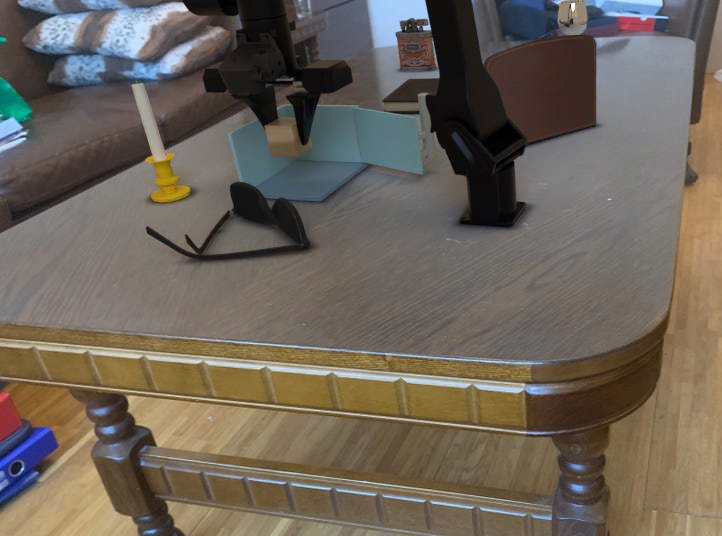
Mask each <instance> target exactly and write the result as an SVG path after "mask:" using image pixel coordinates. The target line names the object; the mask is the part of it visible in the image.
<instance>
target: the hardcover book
mask: <svg viewBox="0 0 722 536" xmlns="http://www.w3.org/2000/svg"><path fill="white" fill-rule="evenodd" d="M438 82H439V77H433V78H432V77H431V78H429V77H428V78H427V77H426V78H424V77H423V78H408V79H406V80H405V81H404V82H403V83H401V84H400V85H399V86H398V87H397V88H395V89H394V90H393V91H391V92H390V93H389V94H388V95H387V96H386V97H384V98H383V99H382V100H381V103H384V111H383V112H388V113H395V114H401V115H409V114H410V115H411V114H420V112H419V103H418V94H421V93H431V92H433V91H435V90H437V87H438Z"/></svg>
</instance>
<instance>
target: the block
mask: <svg viewBox="0 0 722 536" xmlns="http://www.w3.org/2000/svg"><path fill="white" fill-rule="evenodd" d="M265 130H266V135H267V139H268V143H269V148H270V152H271V156H284V157H298V156H300V155H301V154H303V153H304V152H306V151H308V150H309V149H311V148H312V142H311V137H309V142H308V144H306V145H302V144H301V141H300V138H299V135H298V130H297V124H296V119H295V117H280V118H278V119H276V120H275V121H273V122H271V123H269V124H267V125H265Z"/></svg>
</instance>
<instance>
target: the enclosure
mask: <svg viewBox="0 0 722 536" xmlns="http://www.w3.org/2000/svg"><path fill="white" fill-rule="evenodd" d="M354 107H357V108H360V107H359V105H358V104H357V105H356V104H354V105H353V104H317V107H316V110H315V115H314V119H313V123H312V128H311V132H310V137H311V142H312V148H311V149H309V150H308V151H306V152H304V153H303V154H301V155H300V156H298V157H284V156H271V152H270V148H269V143H268V139H267V135H266V131H265V130H264V128H263V126H262V125H261V123H260V121H259V120H258V118H257V117H256V118H254V119H253V120H251V121H248V122H247V123H245V124H243V125H241V126H238V127H237V128H235V129H233V130H231V131H230V132H228V133H226V135H227V139H228V142H229V146H230V151H231V155H232V159H233V162H234V166H235V167H234V168H235V172H236V174H237V179H238V182H245V183H248V184H250V185H253V186H255V187H256V188H257V189H259V190H260V192H261V193H262V194H263V195H264V197H265V199H272V200H276V199H278V198H285V199H287V200H288V201H305V202H320V203H321V202H322V201H324V200H325V199H326V198H328V197H329V196H330V195H332V194H333V193H334V192H336V191H337V190H338V189H340V188H341V187H342V186H344V185H345V184H346V183H347V182H349V181H350V180H352V179H353V178H354V177H355V176H356V175H358V174H359V173H360V172H362V171H363V170H364V169H366V168H367V167H368V166H369V163H365V162H362V159H361V153H360V147H359V141H358V135H357V128H356V122H355V116H354V110H353V108H354ZM277 113H278V118H280V117H295V114H294V109H293V106H292V105H291V103H283V104H281V105H280V106H277Z"/></svg>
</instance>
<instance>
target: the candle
mask: <svg viewBox="0 0 722 536" xmlns="http://www.w3.org/2000/svg"><path fill="white" fill-rule="evenodd" d="M131 88H132V93H133V97H134V99H135V104H136V106H137V109H138V113H139V117H140V119H141V122H142V125H143V126H142V127H143V130H144V132H145V136H146V139H147V142H148V145H149V149H150V152H151V155H150V156H148V157H146V158H145V160H144V161H145V163H149V164H152V166H153V167H154V173H155V174H156V176H157V177H156V178H155V179H154V184H155V185H156V186H159V187H160V188H159V189H157V190H155V191H154V192H152V193H151V195H150V197H151V200H152V201H153V202H155V203H162V204H163V203H171V202H177V201H180V200H182V199H184V198H187V197H189V196H190V195H191V193H192V190H191V188H190V187H189V186H187V185H182V184H181V185H180V184H179V185H177V182H179V181H180V177H179V175H177V174H174V170H173V167H172V165H171V160H173V159H174V158H175V157H176V154H175V153H173V152H166V150H165V146H164V143H163V140H162V137H161V134H160V129H159V127H158V124H157V121H156V118H155V114H154V110H153V109H152V104H151V102H150V99H149V95H148V92H147V89H146V86H145V83H143V82H141V83H138V80H137V79H135V83H133V84H131Z"/></svg>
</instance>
